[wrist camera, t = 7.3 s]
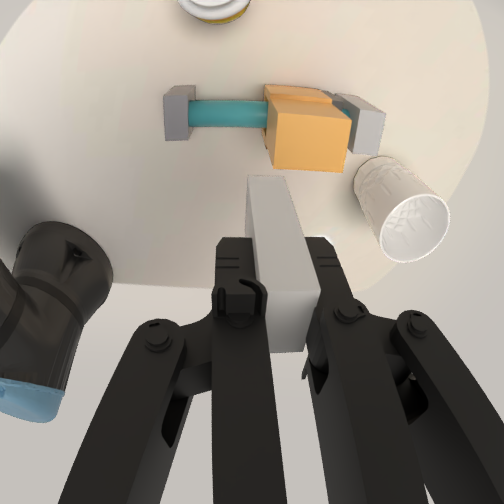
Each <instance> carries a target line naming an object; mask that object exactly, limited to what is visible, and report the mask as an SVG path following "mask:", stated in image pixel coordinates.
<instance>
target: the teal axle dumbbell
mask: <svg viewBox="0 0 504 504" xmlns="http://www.w3.org/2000/svg"><path fill="white" fill-rule="evenodd" d="M321 92H323V93H324V94H326V95H327V96H328V97H330V98H331V99H332V104H333V105H334V106H335V107H336V108H338V109H339V110H340V111H341V112H343V113H344V114H345V115H346V116H348V117H349V118H350V119H351V120H352V123H351V129H350V135H349V141H348V146H347V148H348V149H349V150H350V151H351V152H352V153H353V154H362V155H371V156H377V155H378V151H379V146H380V142H381V137H382V132H383V127H384V122H385V117H386V113H384V112H383V111H381V110H380V109H378V108H376V107H375V106H373V105H372V104H370V103H368V102H367V101H365V100H363V99H361V98H360V97H358V96H353V95H346V94H339V93H336V95H335V96H334V95H333V94H331V93H330V92H328V91H321ZM163 103H164V126H165V141H178V140H189V137H190V135H191V133H192V130H193V128H194V127H252V128H267V116H268V103H269V102H266V101H242V100H195V85H182V86H174V87H173V88H172V89H171V90H170V91H168V92H167V93H166V94H165V95H164V96H163Z"/></svg>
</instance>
